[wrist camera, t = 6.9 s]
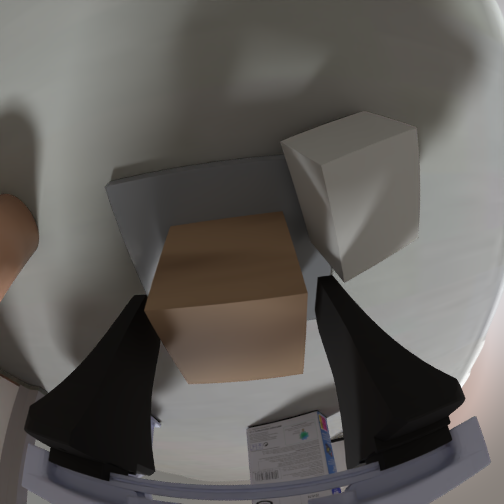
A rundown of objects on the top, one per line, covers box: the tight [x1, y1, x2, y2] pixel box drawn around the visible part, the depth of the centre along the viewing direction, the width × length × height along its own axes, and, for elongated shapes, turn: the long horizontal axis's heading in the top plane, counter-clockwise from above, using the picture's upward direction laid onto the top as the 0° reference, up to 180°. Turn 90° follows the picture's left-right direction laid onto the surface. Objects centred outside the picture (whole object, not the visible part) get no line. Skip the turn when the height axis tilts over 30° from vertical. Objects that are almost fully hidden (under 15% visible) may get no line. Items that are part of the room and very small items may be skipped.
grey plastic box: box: [280, 111, 420, 283], centre depth 10 cm, size 5×4×3 cm
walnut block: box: [144, 211, 308, 384], centre depth 12 cm, size 5×5×5 cm
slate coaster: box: [105, 155, 331, 320], centre depth 14 cm, size 10×10×1 cm
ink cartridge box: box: [247, 411, 341, 504], centre depth 25 cm, size 10×6×14 cm, turn 119°
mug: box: [331, 438, 349, 489], centre depth 38 cm, size 11×9×10 cm
